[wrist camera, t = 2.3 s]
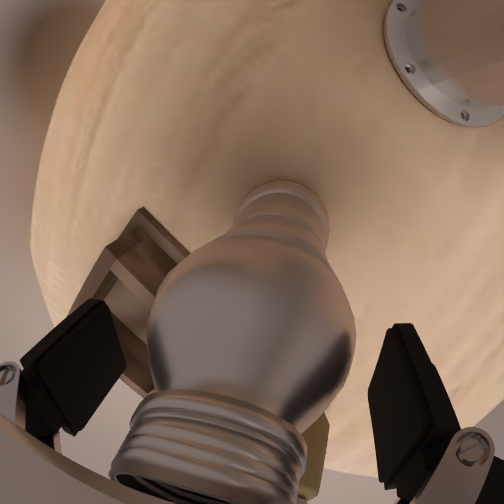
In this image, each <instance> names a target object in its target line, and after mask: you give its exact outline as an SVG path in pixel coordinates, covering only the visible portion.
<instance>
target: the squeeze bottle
mask: <svg viewBox="0 0 504 504" xmlns="http://www.w3.org/2000/svg"><path fill="white" fill-rule="evenodd" d="M329 426H330V425H329V422H328V420H327V418H326V415H325V413H324V412H323V413H322V415H321V416H320V417H319V418H318V419H317V420H316V421H315V422H314V423H313V424H312V425H311V426H309V427H308V428H307V429H306V430H305V431H304V432H303V433H302V434H301V435H302V436H303V438H304V439H305V442H306V445H307V447H308V448H307V460H306V470H305V473H304V474H303V476H302V477H301V478H300V480H299V488H298V496H297V504H307V501H309V500H310V499H313V498H314V497H316V496H317V495H318V492H319V488H320V483H321V477H322V472H323V466H324V460H325V454H326V447H327V440H328V433H329Z"/></svg>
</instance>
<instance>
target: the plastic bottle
mask: <svg viewBox="0 0 504 504" xmlns="http://www.w3.org/2000/svg"><path fill="white" fill-rule="evenodd" d="M328 238H329V219H328V215H327V212H326V210H325V208H324V205H323V204H322V202H321V201H320V199H319V198H318V197H317V196H316V195H315V194H314V193H313V192H312V191H311V190H309V189H308V188H306V187H304V186H303V185H301V184H298V183H295V182H291V181H272V182H269V183H266V184H263V185H261V186H259V187H257V188H256V189H254V190H253V191H252V192H251V193H250V194H248V195H247V197H246V198H245V199H244V201H243V202H242V203H241V206H240V208H239V210H238V212H237V214H236V217H235V221H234V225H233V227H232V228H231V229H230V230H229V231H228V232H226V233H225V234H224V235H222V236H220V237H218V238H217V239H215V240H213V241H211V242H209V243H207V244H206V245H204V246H202V247H200V248H198V249H196V250H195V251H193V252H192V253H191V254H190V255H188V256H187V257H186V258H184V259H183V260H182V261H181V262H180V263H179V264H177V265H176V266H175V267H174V268H173V269H172V270H171V271H170V272H169V273H168V274H167V276H166V277H165V279H164V280H163V282H162V283H161V285H160V286H159V288H158V291H157V294H156V297H155V300H154V303H153V306H152V309H151V312H150V315H149V319H148V322H147V337H146V338H147V350H148V360H149V367H150V371H151V376H152V380H153V383H154V387H155V391H156V392H155V393H152V394H150V395H148V396H146V397H145V398H144V399H143V400H142V401H141V402H140V404H139V405H138V407H137V409H136V410H135V412H134V414H133V416H132V418H131V421H130V429H131V430H130V431H129V433H128V435H127V437H126V439H125V440H124V442H123V443H122V445H121V447H120V449H119V451H118V452H117V454H116V456H115V458H114V460H113V461H112V464H111V469H110V471H109V477H110V479H111V480H112V481H115V482H117V483H119V484H122V485H124V486H127V487H129V488H132V489H134V490H137V491H139V492H142V493H145V494H148V495H151V496H154V497H156V498H160V499H163V500H166V501H169V502H172V503H176V504H297V496H298V488H299V480H300V478H301V477H302V476H303V474H304V473H305V470H306V460H307V448H308V447H307V445H306V442H305V439H304V438H303V436H302V435H301V434H302V433H303V432H304V431H305V430H306V429H307V428H308V427H309V426H311V425H312V424H313V423H314V422H315V421H316V420H317V419H318V418H319V417H320V416H321V415H322V413H323V412H324V411H325V410H326V408H327V407H328V406H329V405H330V403H331V402H332V401H333V399H334V398H335V397H336V395H337V394H338V393H339V391H340V390H341V389H342V387H343V386H344V383H345V381H346V379H347V376H348V374H349V371H350V367H351V364H352V360H353V356H354V352H355V344H356V327H355V320H354V315H353V313H352V310H351V307H350V304H349V301H348V299H347V297H346V294H345V292H344V289H343V287H342V285H341V283H340V282H339V280H338V278H337V276H336V275H335V273H334V271H333V269H332V268H331V266H330V264H329V262H328V260H327V256H326V253H325V250H326V248H327V243H328Z"/></svg>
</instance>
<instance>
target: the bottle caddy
mask: <svg viewBox="0 0 504 504" xmlns="http://www.w3.org/2000/svg"><path fill="white" fill-rule="evenodd" d="M188 255H190V253H189V252H188V251H187V250H186V249H185V248H184V247H183V246H182V245H181V244H180V243H179V242H178V241H177V240H176V239H175V238H174V237H173V236H172V235H171V234H170V233H169V232H168V231H167V230H166V229H165V228H164V227H163V226H162V225H161V224H160V223H159V222H158V221H157V220H156V219H155V218H154V217H153V216H152V215H151V214H150V213H149V212H148V211H147V210H146V209H145V208H144V207H143V208H141V209H139V210H137V212H136V213H135V214H134V216H133V217H132V219H131V220H130V222H129V223H128V224H127V226H126V227H125V229H124V230H123V232H122V233H121V235H120V236H119V238H118V239H117V240H115V241H114V242H112V243H110V244H109V245H107V246H106V247H105V248H104V250H103V251H102V253H101V255H100V256H99V258H98V260H97V261H96V263H95V265H94V266H93V268H92V270H91V272H90V273H89V275H88V277H87V279H86V281H85V282H84V284H83V286H82V288H81V290H80V292H79V294H78V295H77V297H76V299H75V301H74V303H73V305H72V307H71V309H70V311H69V313H68V315H67V316H69V315H70V314H71V313H72V312H73V311H74V310H76V309H77V308H78V307H79V306H80V305H82V304H83V303H84V302H85V301H86V300H88V299H89V298H94V299H99V300H103V301H105V302H106V304H107V305H108V306H109V309H110V312H111V316H112V319H113V322H114V326H115V329H116V332H117V336H118V339H119V342H120V345H121V348H122V351H123V354H124V357H125V360H126V368H125V370H124V372H123V373H122V374H121V376H120V377H119V378H120V379H121V380H122V381H123V382H124V383H126V384H127V385H128V386H129V387H130V388H132V389H133V390H134V391H135V392H137V393H138V394H139V395H141V396H142V397H143V398H145V397H146V396H148V395H150V394H152V393H155V392H156V391H155V387H154V383H153V380H152V376H151V371H150V367H149V360H148V350H147V338H146V337H147V322H148V319H149V315H150V312H151V309H152V306H153V303H154V300H155V297H156V294H157V291H158V288H159V286H160V285H161V283H162V282H163V280H164V279H165V277H166V276H167V274H168V273H169V272H170V271H171V270H172V269H173V268H174V267H175V266H176V265H177V264H179V263H180V262H181V261H182V260H183V259H184V258H186V257H187V256H188Z"/></svg>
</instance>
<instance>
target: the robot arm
mask: <svg viewBox="0 0 504 504" xmlns="http://www.w3.org/2000/svg"><path fill="white" fill-rule="evenodd" d="M384 36H385V43H386V47H387V50H388V53H389V57H390V59H391V61H392V63H393V65H394V67H395V69H396V71H397V73H398V74H399V76H400V77H401V79H402V80H403V82H404V83H405V85H406V86H407V87H408V88H409V90H410V91H411V92H412V93H413V94H414V96H415V97H416V98H417V99H418V100H419V101H420V102H422V103H423V104H424V105H425V106H426V107H427V108H428V109H430V110H431V111H432V112H434V113H435V114H436V115H438V116H439V117H441V118H443V119H445V120H447V121H449V122H451V123H454V124H457V125H460V126H465V127H485V126H488V125H491V124H494V123H495V122H497V121H498V120H500V119H501V118H502V117H503V116H504V0H393V2H392V3H391V5H390V6H389V8H388V10H387V13H386V16H385V20H384ZM405 68H407V69H408V70H409V73H408V72H407V71H406V70H405ZM461 115H462V117H461ZM20 362H21V364H22V366H23V368H24V369H23V370H22V371H21V369H20V367H19V366H18V364H16V363H15V362H5V363H2V364H0V504H176V503H172V502H169V501H166V500H163V499H160V498H156V497H154V496H151V495H148V494H145V493H142V492H139V491H137V490H134V489H132V488H129V487H127V486H124V485H122V484H119V483H117V482H115V481H112V480H110V479H108V478H106V477H104V476H101V475H99V474H97V473H95V472H93V471H91V470H89V469H87V468H85V467H83V466H81V465H80V464H78V463H76V462H74V461H72V460H70V459H69V458H67V457H65V456H63V455H62V451H61V443H60V434H59V429H60V428H61V427H62V429H63V430H64V431H65V432H67V433H69V434H71V435H72V436H74V437H75V436H76V434H77V432H78V431H81V430H82V429H83V428H84V427H85V425H86V424H87V422H88V421H89V420H90V418H91V417H92V415H93V414H94V412H95V411H96V409H97V408H98V407H99V405H100V404H101V402H102V401H103V400H104V398H105V397H106V395H107V394H108V392H109V391H110V390H111V388H112V387H113V385H114V384H115V383H116V381H117V380H118V379H119V377H120V376H121V374H122V373H123V372H124V370H125V368H126V360H125V357H124V354H123V351H122V348H121V345H120V342H119V339H118V336H117V332H116V329H115V326H114V322H113V319H112V316H111V312H110V309H109V306H108V305H107V304H106V302H105V301H103V300H99V299H94V298H89V299H88V300H86V301H85V302H84V303H83V304H82V305H80V306H79V307H78V308H77V309H76V310H74V311H73V312H72V313H71V314H70V315H69V316H67V317H66V318H65V319H64V320H63V321H62V322H61V323H59V324H58V325H57V326H56V327H55V328H54V329H53V330H52V331H50V332H49V333H48V334H47V335H46V336H45V337H44V338H43V339H42V340H41V341H39V343H37V344H36V345H35V346H34V347H33V348H32V349H31V350H30V351H29V352H27V353H26V354H25V355H24V356H23V357H22V358H21V359H20ZM368 402H369V408H370V414H371V421H372V428H373V435H374V442H375V450H376V459H377V468H378V478H379V481H380V482H381V483H383V482H384V487H385V490H389V489H395V488H396V489H397V496H398V497H399V498H398V499H397V500H396V502H395V503H394V504H504V460H501V459H500V458H498V457H496V456H494V452H495V447H494V443H493V440H492V438H491V437H490V436H489V434H488V433H487V432H485V431H484V430H482V429H480V428H476V427H467V428H464V429H461V428H460V425H459V422H458V420H457V417H456V414H455V412H454V409H453V407H452V404H451V402H450V399H449V397H448V394H447V392H446V390H445V387H444V385H443V383H442V380H441V378H440V376H439V373H438V371H437V369H436V367H435V366H434V364H432V363H431V361H430V358H429V356H428V354H427V352H426V350H425V348H424V346H423V344H422V342H421V340H420V338H419V336H418V334H417V332H416V330H415V328H414V326H413V324H411V323H395V324H394V325H393V327H392V328H389V329H388V330H387V332H386V335H385V339H384V342H383V346H382V349H381V352H380V355H379V359H378V362H377V365H376V368H375V371H374V374H373V377H372V380H371V383H370V385H369V388H368Z"/></svg>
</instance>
